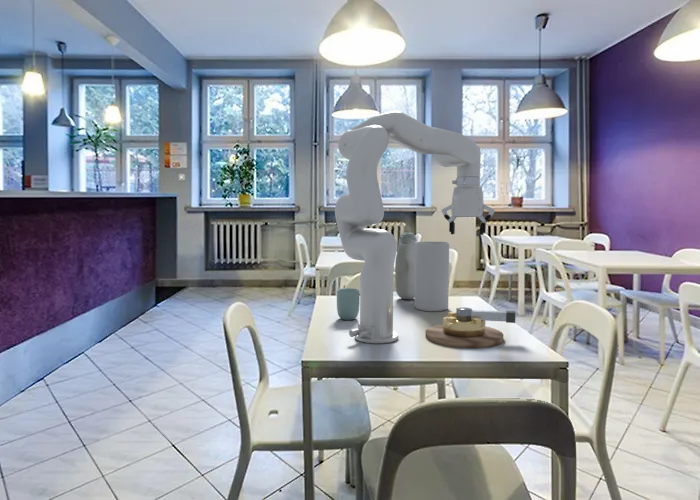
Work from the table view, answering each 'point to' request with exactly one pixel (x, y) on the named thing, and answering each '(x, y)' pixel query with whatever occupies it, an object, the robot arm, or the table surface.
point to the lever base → (464, 338)
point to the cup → (348, 303)
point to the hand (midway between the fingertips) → (467, 234)
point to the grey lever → (473, 321)
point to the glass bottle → (405, 266)
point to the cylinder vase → (431, 275)
